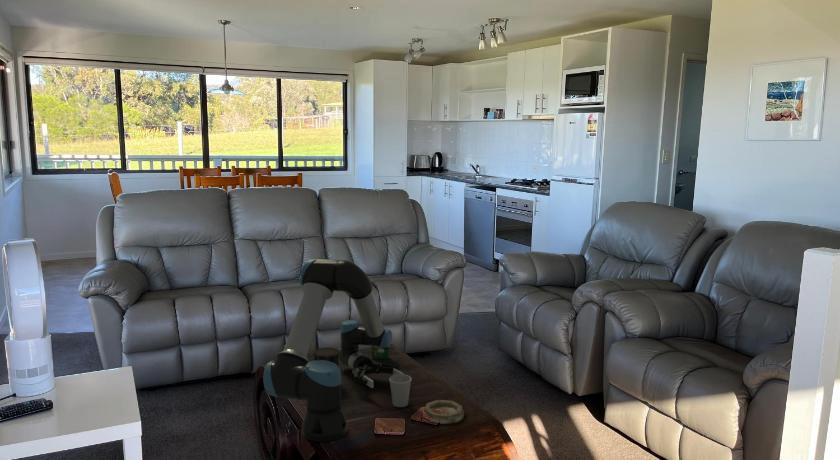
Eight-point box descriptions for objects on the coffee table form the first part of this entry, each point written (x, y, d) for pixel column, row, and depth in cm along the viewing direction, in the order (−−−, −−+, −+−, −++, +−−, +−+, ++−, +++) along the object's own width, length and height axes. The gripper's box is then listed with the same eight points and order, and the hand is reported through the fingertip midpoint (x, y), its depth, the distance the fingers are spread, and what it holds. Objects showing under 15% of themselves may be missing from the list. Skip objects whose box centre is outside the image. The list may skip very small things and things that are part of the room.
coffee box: (390, 357, 273) (390, 329, 272) (389, 359, 271) (389, 331, 269) (372, 356, 274) (372, 328, 272) (371, 358, 271) (371, 330, 269)
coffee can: (334, 391, 235) (334, 357, 233) (310, 389, 237) (309, 354, 235) (343, 381, 244) (343, 348, 243) (320, 379, 247) (319, 346, 245)
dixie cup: (408, 409, 219) (409, 383, 218) (386, 407, 221) (386, 381, 219) (413, 400, 227) (413, 375, 226) (392, 398, 229) (392, 373, 227)
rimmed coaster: (438, 427, 205) (438, 421, 205) (414, 411, 217) (414, 405, 217) (472, 416, 213) (472, 410, 213) (447, 402, 226) (447, 395, 225)
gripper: (386, 366, 255) (414, 382, 238) (333, 379, 241) (359, 397, 224) (386, 349, 254) (414, 364, 237) (333, 361, 240) (359, 378, 223)
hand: (388, 380), depth 231 cm, fingers open, 13 cm apart
